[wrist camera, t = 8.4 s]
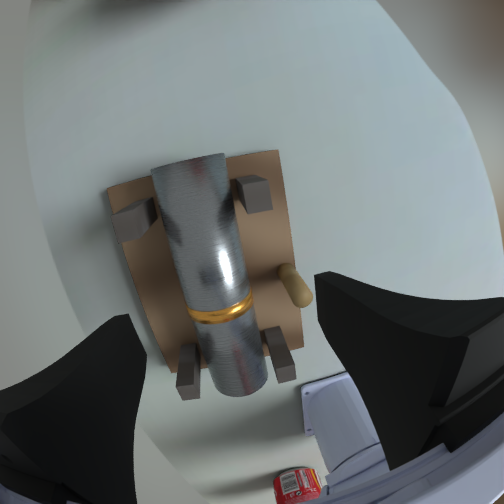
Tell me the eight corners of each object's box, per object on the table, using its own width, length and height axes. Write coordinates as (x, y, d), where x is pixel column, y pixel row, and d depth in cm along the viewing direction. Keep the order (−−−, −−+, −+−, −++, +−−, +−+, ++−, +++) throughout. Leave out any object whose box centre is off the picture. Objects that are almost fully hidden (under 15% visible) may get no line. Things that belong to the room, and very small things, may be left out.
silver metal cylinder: (261, 353, 21) (275, 388, 18) (211, 365, 21) (216, 402, 17) (221, 154, 16) (229, 150, 12) (155, 169, 16) (143, 170, 12)
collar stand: (300, 339, 22) (321, 384, 17) (172, 365, 22) (166, 414, 17) (274, 150, 17) (299, 147, 12) (111, 186, 17) (75, 199, 12)
